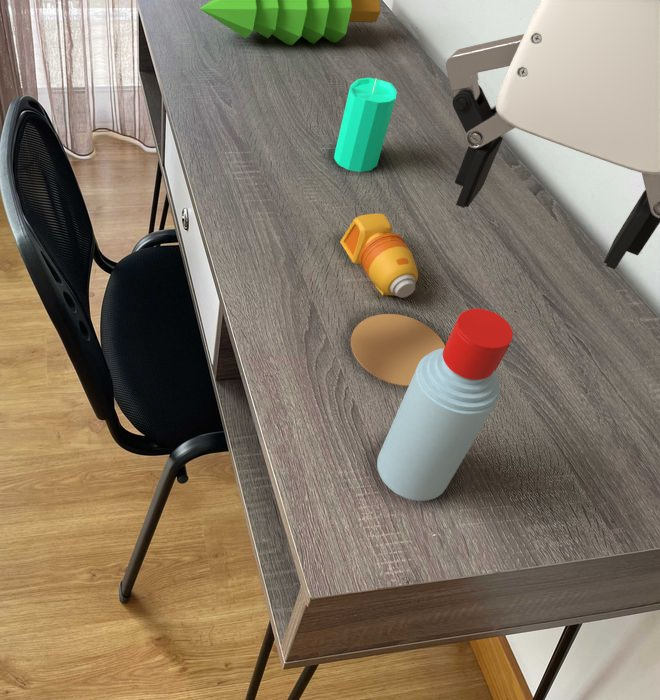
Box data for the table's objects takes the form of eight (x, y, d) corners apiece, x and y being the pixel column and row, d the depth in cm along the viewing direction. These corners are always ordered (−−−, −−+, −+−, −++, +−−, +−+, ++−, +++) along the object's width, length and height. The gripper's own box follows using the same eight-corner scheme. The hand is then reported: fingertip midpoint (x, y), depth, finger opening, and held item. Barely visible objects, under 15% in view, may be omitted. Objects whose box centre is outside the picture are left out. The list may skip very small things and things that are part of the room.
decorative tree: (393, -33, 115) (208, -34, 107) (385, 46, 120) (208, 51, 112) (359, -31, 124) (188, -31, 117) (353, 43, 129) (189, 46, 122)
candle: (357, 145, 102) (378, 62, 93) (386, 167, 99) (411, 83, 90) (324, 156, 100) (342, 72, 91) (352, 179, 97) (374, 94, 88)
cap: (502, 356, 55) (520, 324, 53) (485, 388, 53) (503, 356, 51) (453, 333, 57) (468, 300, 54) (434, 363, 54) (449, 331, 52)
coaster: (460, 345, 77) (462, 341, 77) (424, 405, 72) (426, 401, 71) (374, 304, 81) (375, 300, 80) (333, 358, 75) (334, 354, 75)
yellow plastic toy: (421, 306, 81) (376, 236, 89) (436, 269, 77) (388, 199, 85) (377, 313, 80) (335, 241, 88) (390, 276, 76) (345, 204, 83)
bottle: (457, 465, 67) (540, 325, 53) (431, 516, 63) (512, 379, 50) (393, 431, 69) (456, 288, 56) (364, 478, 66) (424, 337, 52)
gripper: (923, -56, 32) (697, 251, 45) (531, -145, 38) (430, 148, 51) (925, -1, 27) (674, 321, 40) (481, -112, 33) (385, 200, 46)
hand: (539, 224), depth 45 cm, fingers open, 8 cm apart
